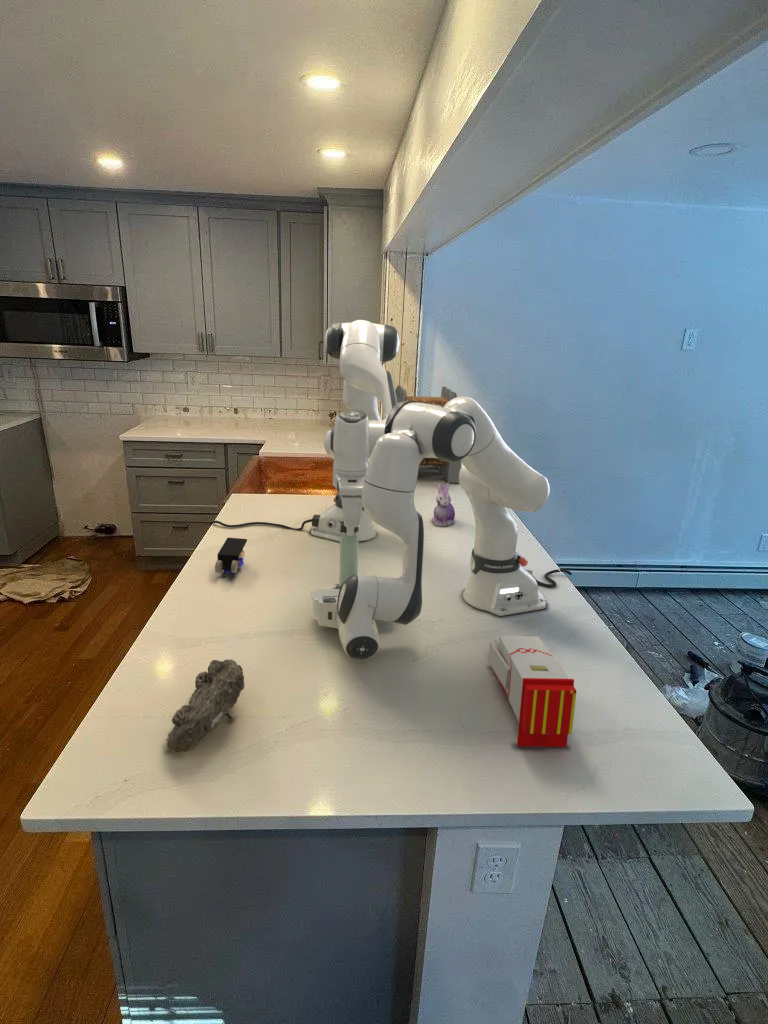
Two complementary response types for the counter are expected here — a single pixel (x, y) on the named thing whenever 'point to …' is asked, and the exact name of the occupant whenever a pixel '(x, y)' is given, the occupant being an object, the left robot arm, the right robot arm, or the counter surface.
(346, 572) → the bottle
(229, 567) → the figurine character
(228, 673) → the fossil
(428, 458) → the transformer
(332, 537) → the left robot arm
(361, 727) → the counter surface
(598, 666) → the counter surface
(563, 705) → the toy
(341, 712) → the counter surface
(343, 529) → the cap
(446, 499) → the figurine
